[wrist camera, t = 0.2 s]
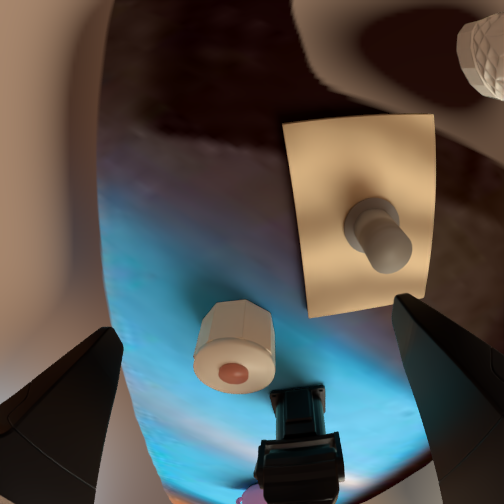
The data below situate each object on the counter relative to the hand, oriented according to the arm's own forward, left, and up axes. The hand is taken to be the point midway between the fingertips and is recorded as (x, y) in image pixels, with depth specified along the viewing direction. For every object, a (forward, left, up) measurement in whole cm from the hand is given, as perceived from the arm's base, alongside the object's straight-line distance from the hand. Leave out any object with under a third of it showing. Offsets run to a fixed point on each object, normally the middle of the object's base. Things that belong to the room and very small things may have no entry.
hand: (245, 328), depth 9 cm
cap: (-13, +4, -14) cm, 19 cm away
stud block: (-4, -8, -14) cm, 17 cm away
